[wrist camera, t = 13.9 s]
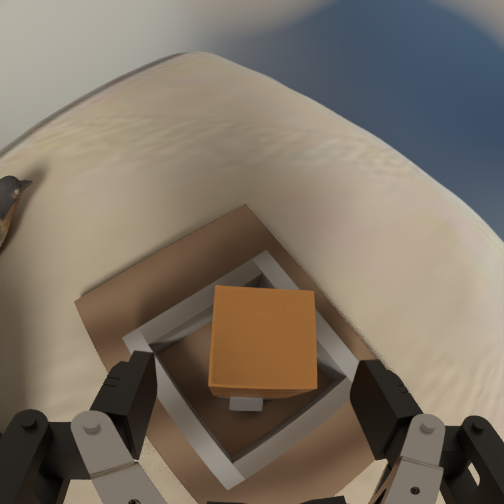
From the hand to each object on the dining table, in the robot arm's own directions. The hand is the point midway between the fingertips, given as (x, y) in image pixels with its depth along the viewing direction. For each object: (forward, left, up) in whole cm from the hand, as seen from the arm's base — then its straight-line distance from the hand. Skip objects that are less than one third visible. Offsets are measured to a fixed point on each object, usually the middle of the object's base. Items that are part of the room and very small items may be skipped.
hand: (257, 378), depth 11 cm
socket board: (-1, +1, -10) cm, 10 cm away
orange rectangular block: (-1, +1, -9) cm, 9 cm away
